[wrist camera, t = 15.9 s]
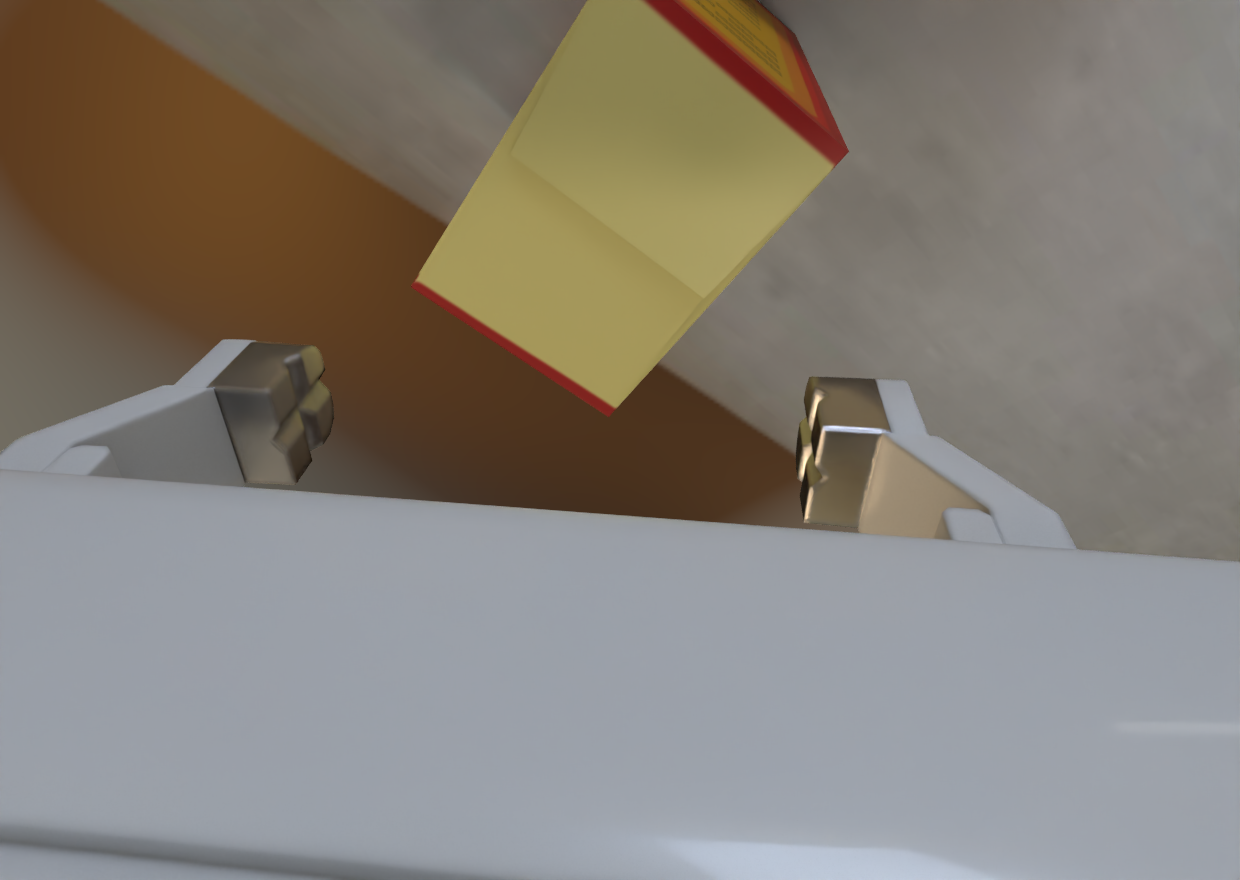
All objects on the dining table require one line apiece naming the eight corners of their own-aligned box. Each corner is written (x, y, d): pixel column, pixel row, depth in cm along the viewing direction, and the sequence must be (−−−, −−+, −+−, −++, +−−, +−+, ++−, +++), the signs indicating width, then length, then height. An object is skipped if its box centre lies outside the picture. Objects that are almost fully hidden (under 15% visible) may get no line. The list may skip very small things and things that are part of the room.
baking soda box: (647, 222, 35) (606, 424, 23) (525, 130, 34) (406, 292, 21) (795, 34, 31) (851, 156, 18) (662, -85, 29) (615, -47, 16)
